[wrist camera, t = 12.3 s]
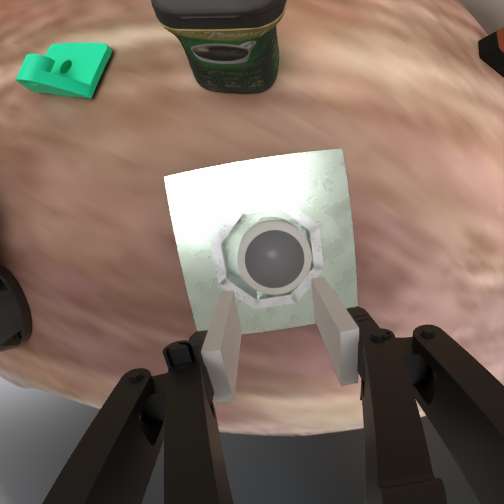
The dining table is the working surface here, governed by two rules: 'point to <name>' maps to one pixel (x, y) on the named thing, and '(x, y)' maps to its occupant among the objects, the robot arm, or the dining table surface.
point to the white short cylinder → (273, 256)
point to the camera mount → (65, 69)
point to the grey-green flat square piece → (251, 210)
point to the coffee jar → (226, 40)
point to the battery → (493, 50)
